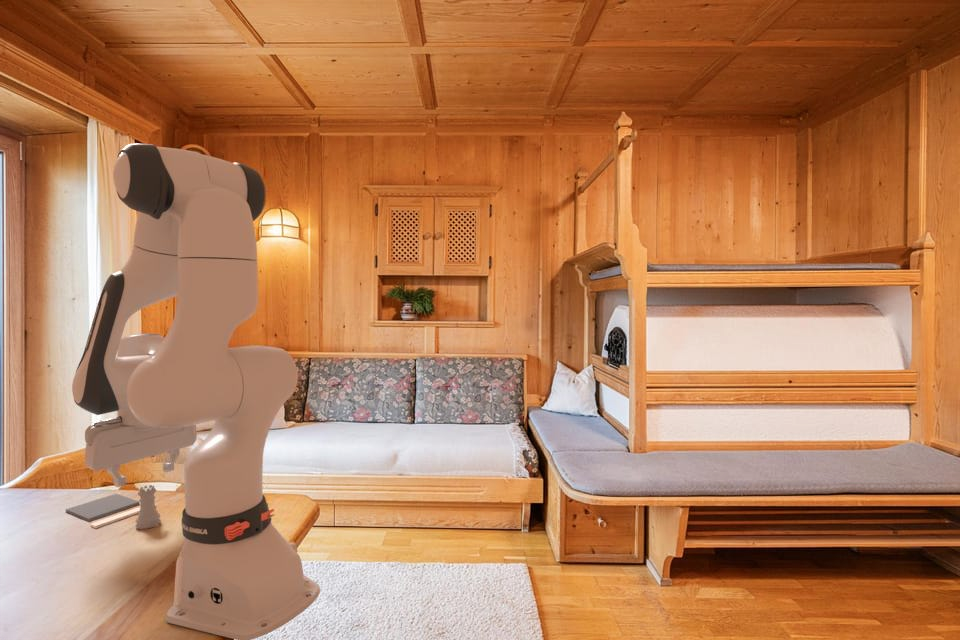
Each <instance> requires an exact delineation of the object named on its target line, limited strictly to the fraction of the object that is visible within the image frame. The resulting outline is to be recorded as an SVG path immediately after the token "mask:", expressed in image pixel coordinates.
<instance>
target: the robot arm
mask: <svg viewBox="0 0 960 640" xmlns="http://www.w3.org/2000/svg"><path fill="white" fill-rule="evenodd" d="M112 172H113V173H112V176H113V177H112V180H113V185H114V186H115V191H116V194H117V196H118V198H119V200H120V201H121V202H122V203H124V205H126V206H127V207H128V208H129V209H132V210H134V211H137V212H138V213H137V218H136V222H135V226H134V227H135V228H134V233H133V243H132V250H131V253H130V256H129V258H128V260H127V261H126V263H125V265H124V266H122V268H121V269H120V270H119V271H117V272H114V273H112V274H110V275H109V276H108V277H107V279H106V281H105V283H104V285H103V288H102V290H101V294H100V297H99V300H98V303H97V306H96V309H95V311H94V316H93V319H92V322H91V326H90V330H89V332H88V337H87V340H86V343H85V347H84V351H83V354H82V356H81V359H80V361H79V363H78V365H77V367H76V370H75V374H74V376H73V379H72V386H71V390H72V391H71V392H72V396H73V400H74V403H75V405H77V406H78V407H80V409H83V410H84V411H86V412H89V413H91V414H92V415H96V416H100V415H104V414H108V413H115V412H117V415H116V417H113V418H112V417H111V418H108V419H103V420H96V421H94V422H92V424H90V425H89V426H88V427H87V428H86V429H85V431H84V441H85V450H84V465H85V466H86V468H89V469H90V470H92V471H102V470H106V471H107V472H108V473H109V475H111V477H112V478H113V485H114V487H117V488H119V487H122V486H126V485H127V475H126V476H125V475H123V474H120V473H119V472H118V471H121V465H125V464H128V463H132V462H135V461H139V460H142V459H146V458H150V457H151V458H152V457H154V456H157V455H162V454H166V453H167V454H169V455H168V457H167V459H166V461H165V462H162V471H163V472H164V473H169V472H172V471H174V470H175V463H176V461H177V459H178V457H179V455H180V450H181V449H183V448H187V447H191V446H193V445H194V444H195V443H196V441H197V438H198V436H197V435H198V433H197V425H200V424H204V423H209V422H213V421H214V424H213V426H212V428H211V430H210V432H209V433H208V435H207V436H206V438H205V439H204V440H203V441H202V442H201V443H200V444H198V445H197V446H196V447H195V448H194V449H193V450H191V452H190V453H189V454H188V456H187V457H186V460H185V463H184V466H183V479H184V480H183V482H184V501H185V502H184V509H183V510H182V513H181V514H182V516H181V527H182V529H181V530H182V536H183V537H184V541H183V545H182V547H181V550H180V552H179V554H178V556H177V560H176V561H175V562H176V564H175V576H174V577H175V578H174V593H173V595H174V596H173V604H172V606H171V607H169V609H168V611H167V612H166V618H165V619H166V623H169V624H172V625H176V626H180V627H185V628H187V629H188V628H189V629H191V630H192V629H193V630H196V631H200V632H204V633H208V634H213V635H216V636H220V637H224V638H228V639H233V640H255V639H257V638H260V637H263V636H265V635H267V634H269V633H271V632H274V631H276V630H277V629H279V628H281V627H283V626H285V625H286V624H287V623H289V622H291V621H292V620H294V619H295V618H297V617H298V616H299V615H300V614H302V613H304V611H306V609H308V608H309V607H310V606H311V605H312V604H313V603H314V602H315V601H317V599H318V597H319V595H320V593H321V588H320V584H318V583H317V582H316V581H314V580H313V579H311V578H310V577H308V576H306V575H305V574H304V570H303V563H302V560H301V559H302V558H301V556H300V555H299V553H298V547H297V545H296V543H295V542H293V541H290V542H288V541H287V540H286V539H285V537H284V536H283V535H282V534H281V533H280V531H278V529H277V528H276V527H275V526H274V525H273V523H272V517H274V516H275V514H274V513H273V512H274V511H275V508H272V509H269V504H268V503H267V500H266V496H265V495H264V493H263V467H264V466H263V465H264V464H263V463H264V461H263V460H264V451H265V445H266V442H267V439H268V434H269V432H270V429H271V426H272V424H273V422H274V420H275V418H276V416H277V415H278V413H279V412H280V409H282V407H283V405H284V404H285V403H286V402H288V401H287V400H289V399H290V398H291V397H292V396H293V395H294V393H295V391H296V388H297V386H298V385H297V384H298V378H299V374H298V373H299V371H298V367H297V365H296V364H297V363H295V362H296V361H295V360H294V358H293V357H292V355H291V354H290V353H289V352H288V351H286V350H285V349H283V348H280V347H276V346H275V347H274V346H268V345H267V346H266V345H254V344H253V345H247V346H246V345H245V346H244V345H243V346H236V347H229V344H230V340H231V338H232V336H233V333H234V332H235V330H236V329H238V327H239V326H240V325H241V324H243V323H244V322H246V321H247V320H249V319H250V318H251V317H253V316H254V314H255V313H256V311H257V309H258V305H259V282H258V281H259V280H258V279H259V278H258V277H259V273H258V271H259V270H258V246H257V237H256V231H255V225H254V221H255V220H256V219H258V217H259V216H260V215H262V213H263V211H264V208H265V205H266V197H267V195H266V194H267V193H266V192H267V191H266V186H265V183H264V180H263V178H262V176H261V174H260V173H259V172H258V171H257V170H255V169H254V168H252V167H250V166H248V165H245V164H243V163H240V162H231V161H229V160H224V159H222V158H218V157H215V156H210V155H207V154H203V153H200V152H199V151H194V150H188V149H182V148H181V149H180V148H175V147H173V148H172V147H166V146H165V147H163V146H156V145H154V143H130V144H127V145H125V147H124V148H122V149H121V150H120V151H119V152H118V155H117V159H116V160H115V163H114V167H113V171H112ZM174 298H176V299H177V300H176V309H175V314H174V318H173V320H172V323H171V326H170V328H169V329H168V332H167V334H166V336H165V337H164V336H163V335H161V334H158V333H140V334H131V335H126V336H124V337H122V336H123V334H124V331H125V327H126V324H127V322H128V320H129V319H130V318H131V317H132V316H133V315H134V314H136V313H137V312H139V311H140V310H142V309H144V308H147V307H149V306H151V305H154V304H157V303H160V302H162V301H167V300H169V299H174ZM272 513H273V514H272Z"/></svg>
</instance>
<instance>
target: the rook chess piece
mask: <svg viewBox="0 0 960 640" xmlns="http://www.w3.org/2000/svg"><path fill="white" fill-rule="evenodd" d="M156 492H157V489H156V488H155V485H153V484H150V485H144V487H143V486H141V487H139V491H138V493H137V495H138V496H139V497H140V499H139V500H138V501H139V503H140V504H139V505H140V506H139V507H140V512H139V513H138V514H137V517H136V518H135V523H136V524H135V528H137V530H138V529H139V530H149V529H151V528H155V527H157V526H158V525H160V523H161V522H162V520H161V514H160V513H159V511H158V510H157V507H155V504H156V503H155V499H156V498H157V497H156V496H155V494H156Z"/></svg>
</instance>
